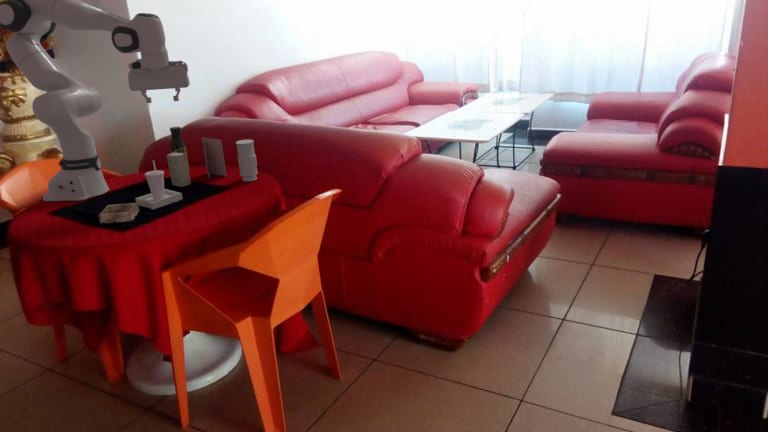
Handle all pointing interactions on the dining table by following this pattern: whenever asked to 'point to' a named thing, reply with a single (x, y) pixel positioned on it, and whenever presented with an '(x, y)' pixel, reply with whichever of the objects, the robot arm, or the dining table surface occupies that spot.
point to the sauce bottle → (177, 142)
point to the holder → (119, 213)
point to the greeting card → (214, 156)
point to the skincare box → (178, 169)
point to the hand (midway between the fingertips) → (162, 101)
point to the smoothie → (156, 183)
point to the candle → (247, 160)
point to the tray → (152, 204)
